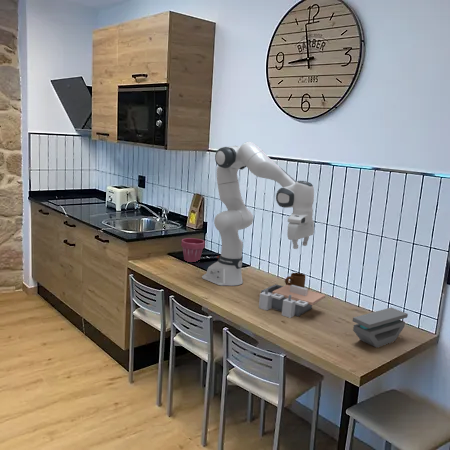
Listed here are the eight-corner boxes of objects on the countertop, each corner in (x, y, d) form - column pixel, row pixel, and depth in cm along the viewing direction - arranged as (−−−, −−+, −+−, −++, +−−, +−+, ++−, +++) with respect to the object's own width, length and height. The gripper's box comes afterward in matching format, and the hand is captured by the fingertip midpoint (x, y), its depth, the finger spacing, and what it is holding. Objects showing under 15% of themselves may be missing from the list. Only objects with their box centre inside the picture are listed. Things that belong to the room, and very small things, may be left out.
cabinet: (255, 307, 222) (257, 287, 220) (274, 297, 236) (276, 279, 234) (293, 319, 210) (296, 298, 209) (311, 308, 225) (313, 289, 223)
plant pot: (205, 264, 286) (207, 243, 284) (182, 264, 282) (184, 243, 280) (200, 257, 299) (201, 237, 297) (178, 258, 295) (179, 237, 293)
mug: (289, 296, 239) (290, 278, 238) (279, 291, 246) (281, 274, 244) (306, 293, 246) (308, 276, 244) (297, 289, 252) (298, 271, 250)
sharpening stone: (365, 351, 183) (369, 324, 181) (349, 343, 189) (352, 317, 187) (404, 338, 198) (407, 313, 196) (387, 331, 204) (391, 307, 202)
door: (267, 296, 217) (268, 287, 216) (286, 287, 231) (287, 278, 231) (307, 307, 205) (308, 298, 205) (325, 297, 220) (326, 288, 219)
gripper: (306, 214, 227) (303, 242, 229) (285, 218, 210) (283, 249, 212) (318, 215, 223) (316, 244, 225) (298, 220, 206) (296, 251, 209)
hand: (300, 247), depth 219 cm, fingers open, 8 cm apart
